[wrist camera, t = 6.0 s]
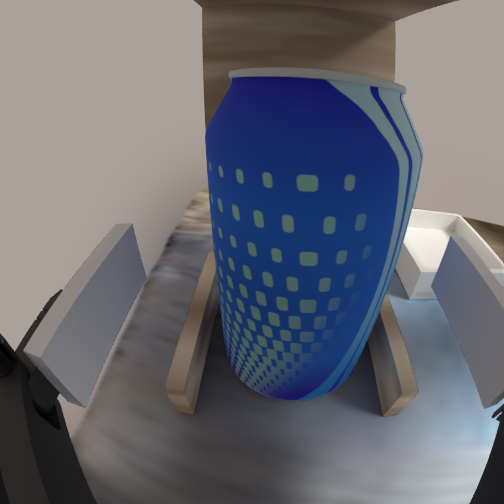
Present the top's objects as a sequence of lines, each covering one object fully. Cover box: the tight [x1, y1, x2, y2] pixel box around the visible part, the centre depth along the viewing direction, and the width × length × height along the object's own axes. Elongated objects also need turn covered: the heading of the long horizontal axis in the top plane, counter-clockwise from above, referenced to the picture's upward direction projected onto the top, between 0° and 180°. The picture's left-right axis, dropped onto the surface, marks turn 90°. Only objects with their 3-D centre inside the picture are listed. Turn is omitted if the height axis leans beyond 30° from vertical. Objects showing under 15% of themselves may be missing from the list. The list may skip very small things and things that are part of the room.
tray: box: [395, 209, 504, 300], centre depth 25 cm, size 12×12×3 cm
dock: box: [164, 0, 457, 417], centre depth 13 cm, size 14×13×22 cm
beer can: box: [205, 67, 423, 401], centre depth 13 cm, size 8×8×16 cm
